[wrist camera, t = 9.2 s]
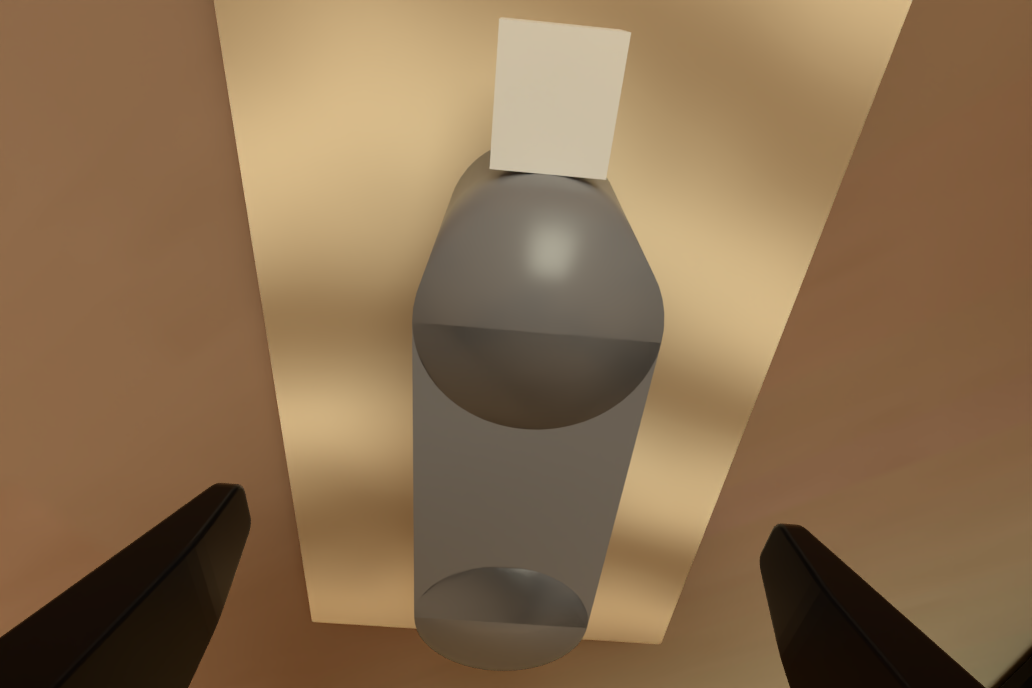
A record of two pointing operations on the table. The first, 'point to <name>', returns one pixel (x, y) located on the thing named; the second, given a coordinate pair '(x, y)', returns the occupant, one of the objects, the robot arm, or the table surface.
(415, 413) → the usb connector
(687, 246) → the birch board
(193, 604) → the robot arm
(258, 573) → the table surface
